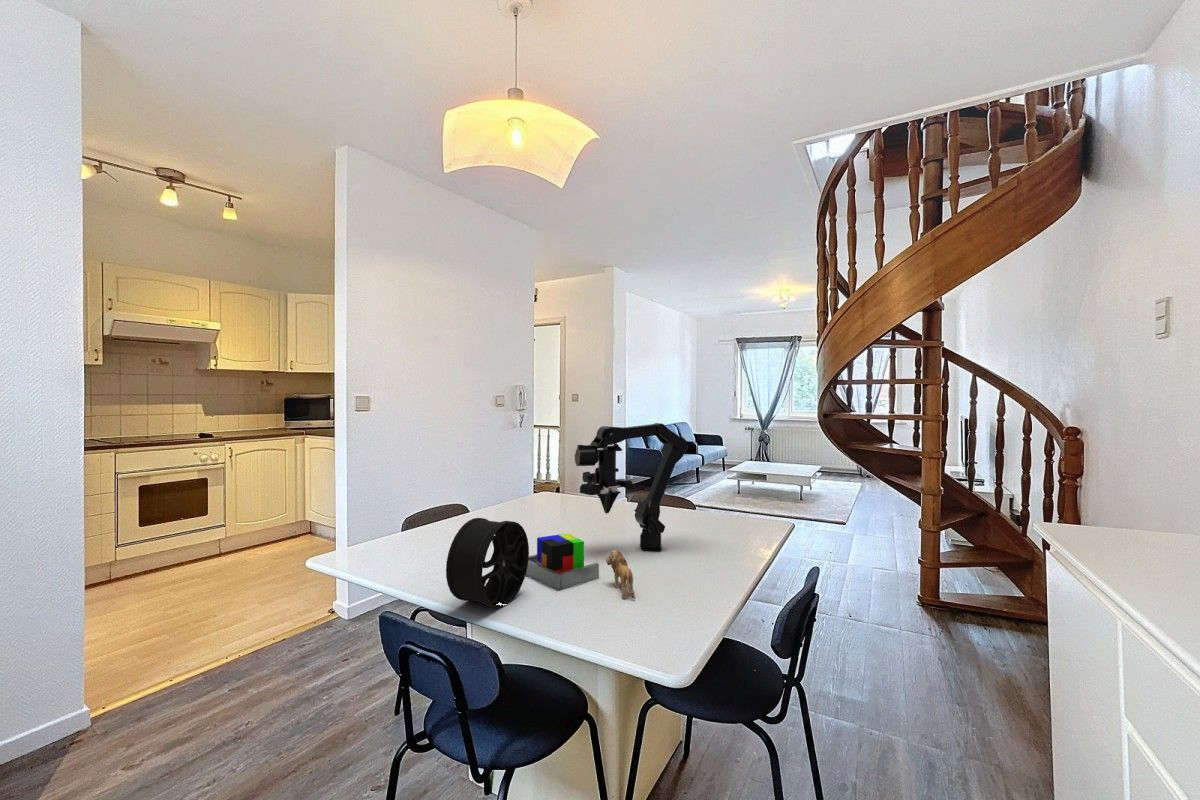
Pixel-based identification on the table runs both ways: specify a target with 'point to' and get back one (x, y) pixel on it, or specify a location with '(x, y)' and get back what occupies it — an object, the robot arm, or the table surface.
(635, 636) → the table surface
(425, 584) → the table surface
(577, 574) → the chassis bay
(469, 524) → the car wheel rim
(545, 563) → the puzzle toy
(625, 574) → the lion figurine
